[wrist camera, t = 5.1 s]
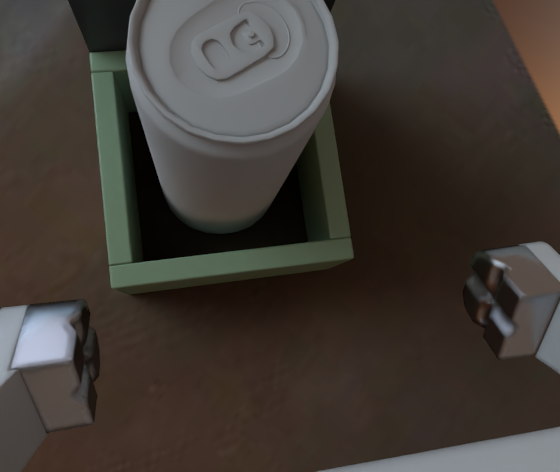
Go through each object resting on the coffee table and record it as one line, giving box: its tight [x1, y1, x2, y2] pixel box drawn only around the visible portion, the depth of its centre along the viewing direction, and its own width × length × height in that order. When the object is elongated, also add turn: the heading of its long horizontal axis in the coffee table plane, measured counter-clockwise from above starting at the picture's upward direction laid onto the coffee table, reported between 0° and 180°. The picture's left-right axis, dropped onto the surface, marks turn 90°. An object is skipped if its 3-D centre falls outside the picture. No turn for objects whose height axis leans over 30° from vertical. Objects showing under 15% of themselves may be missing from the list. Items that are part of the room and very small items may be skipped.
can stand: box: [68, 0, 354, 295], centre depth 16 cm, size 10×9×14 cm
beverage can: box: [125, 0, 339, 234], centre depth 17 cm, size 5×5×12 cm
